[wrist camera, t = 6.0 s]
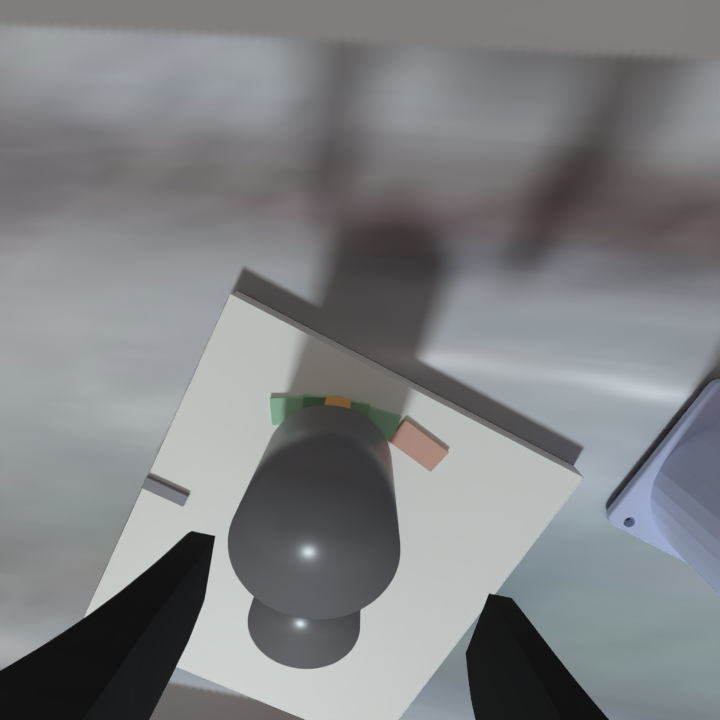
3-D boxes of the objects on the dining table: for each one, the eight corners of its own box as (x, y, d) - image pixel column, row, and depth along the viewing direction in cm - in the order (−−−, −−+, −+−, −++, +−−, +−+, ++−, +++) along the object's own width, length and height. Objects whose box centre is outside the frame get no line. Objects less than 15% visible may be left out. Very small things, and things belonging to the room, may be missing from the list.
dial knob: (360, 612, 21) (356, 760, 15) (255, 597, 21) (210, 741, 15) (399, 403, 18) (415, 487, 12) (278, 385, 18) (234, 460, 12)
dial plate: (573, 466, 21) (586, 480, 20) (375, 729, 25) (376, 752, 24) (237, 291, 19) (229, 294, 18) (91, 611, 24) (77, 630, 22)
